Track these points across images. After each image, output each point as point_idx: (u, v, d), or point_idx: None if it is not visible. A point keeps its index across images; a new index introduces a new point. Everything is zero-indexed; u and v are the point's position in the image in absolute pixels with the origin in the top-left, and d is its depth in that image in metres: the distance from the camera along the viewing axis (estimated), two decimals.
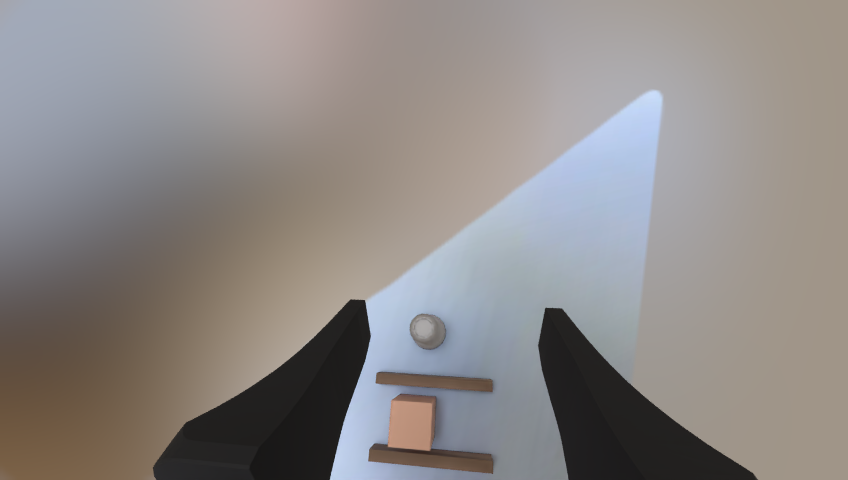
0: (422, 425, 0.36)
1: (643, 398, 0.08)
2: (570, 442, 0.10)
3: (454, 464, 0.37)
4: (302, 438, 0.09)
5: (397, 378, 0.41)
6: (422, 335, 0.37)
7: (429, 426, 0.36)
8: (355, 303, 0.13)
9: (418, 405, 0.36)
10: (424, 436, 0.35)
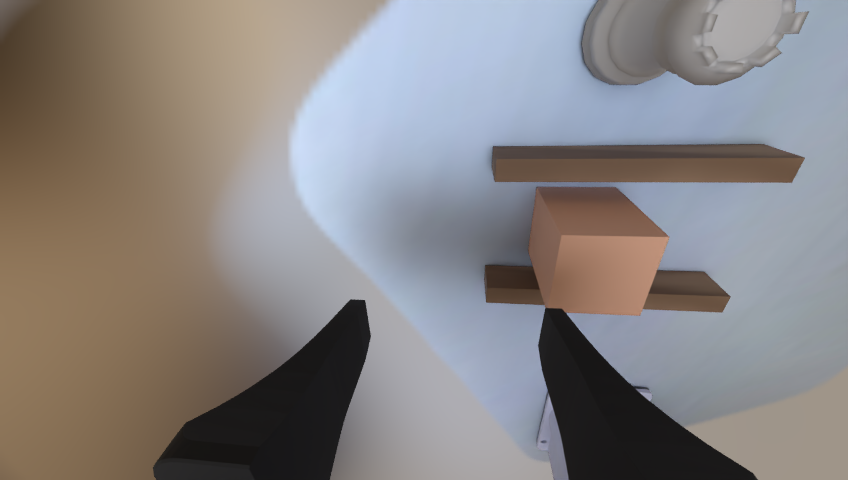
0: (632, 278, 0.16)
1: (643, 398, 0.08)
2: (570, 442, 0.10)
3: (649, 302, 0.20)
4: (302, 438, 0.09)
5: (550, 167, 0.17)
6: (728, 56, 0.10)
7: (649, 279, 0.16)
8: (355, 303, 0.13)
9: (632, 242, 0.15)
10: (633, 294, 0.16)
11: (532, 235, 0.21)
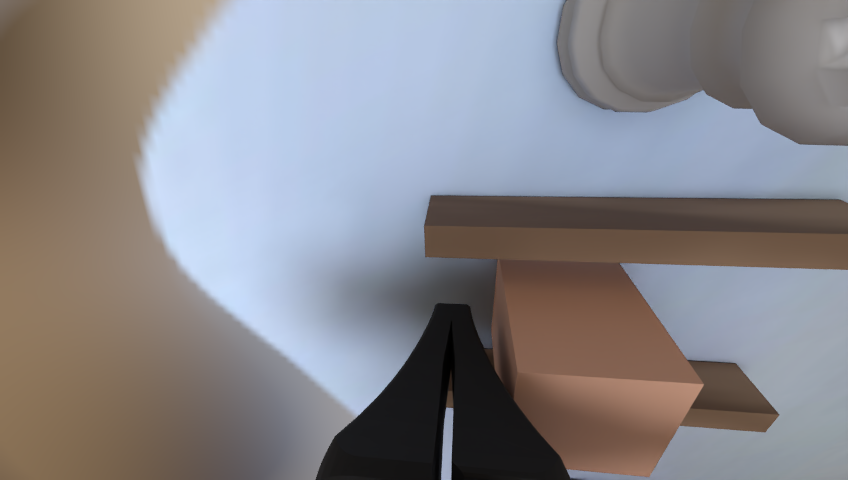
0: (637, 433, 0.10)
1: (501, 388, 0.09)
2: None
3: None
4: (438, 451, 0.08)
5: (508, 239, 0.11)
6: None
7: (666, 435, 0.09)
8: (445, 308, 0.13)
9: (638, 388, 0.09)
10: (638, 452, 0.10)
11: (494, 316, 0.15)
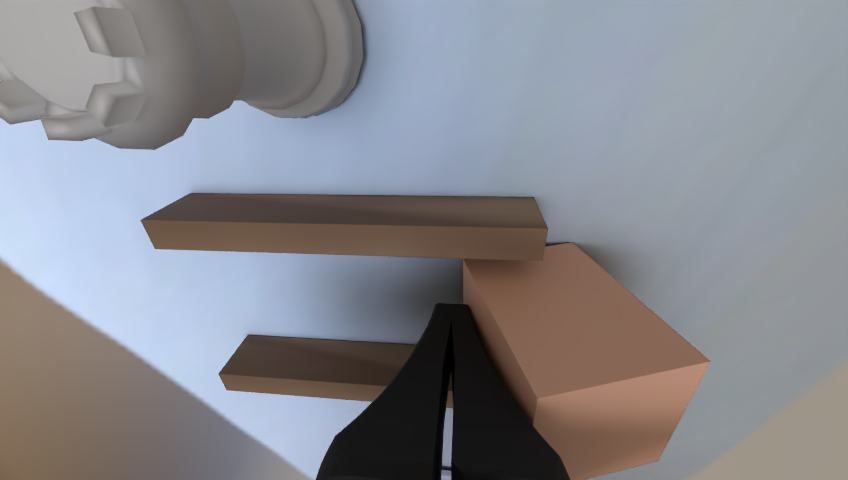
0: (650, 424, 0.09)
1: (501, 388, 0.09)
2: None
3: None
4: (438, 451, 0.08)
5: (215, 232, 0.12)
6: (74, 102, 0.05)
7: (675, 418, 0.09)
8: (445, 307, 0.13)
9: (654, 381, 0.08)
10: (650, 442, 0.10)
11: None
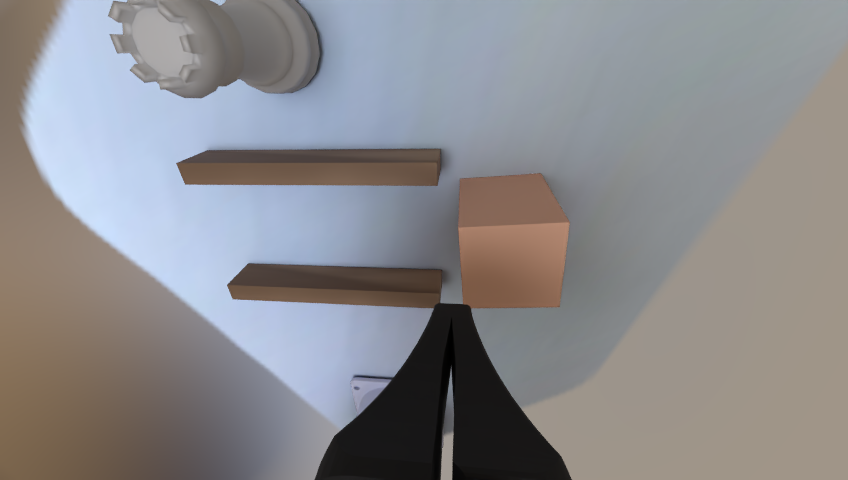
0: (541, 268, 0.15)
1: (502, 388, 0.09)
2: None
3: (373, 299, 0.21)
4: (437, 450, 0.08)
5: (225, 171, 0.18)
6: (170, 73, 0.11)
7: (560, 268, 0.15)
8: (445, 307, 0.13)
9: (532, 230, 0.14)
10: (547, 285, 0.15)
11: None
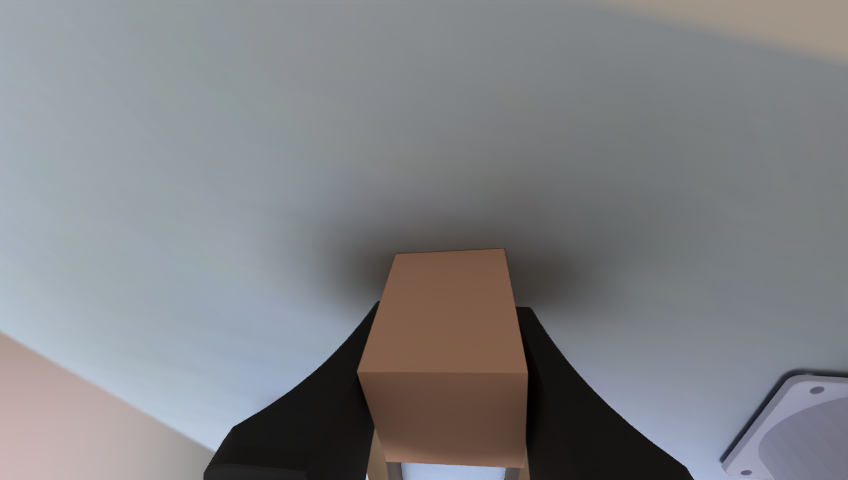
0: (442, 395, 0.09)
1: (595, 395, 0.09)
2: (530, 439, 0.10)
3: None
4: (345, 442, 0.09)
5: None
6: None
7: (439, 376, 0.09)
8: None
9: (378, 405, 0.10)
10: (477, 389, 0.09)
11: None
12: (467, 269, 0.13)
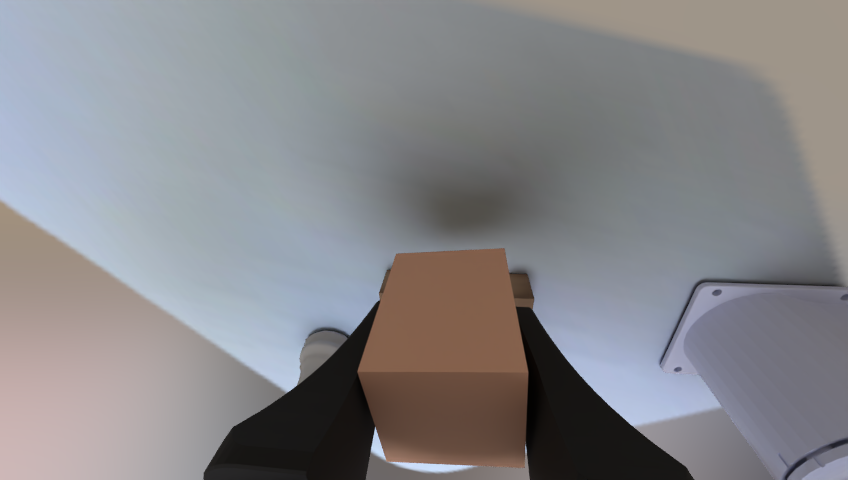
0: (442, 395, 0.09)
1: (595, 395, 0.09)
2: (530, 439, 0.10)
3: None
4: (345, 442, 0.09)
5: None
6: None
7: (439, 376, 0.09)
8: None
9: (378, 405, 0.10)
10: (477, 388, 0.09)
11: None
12: (467, 269, 0.13)
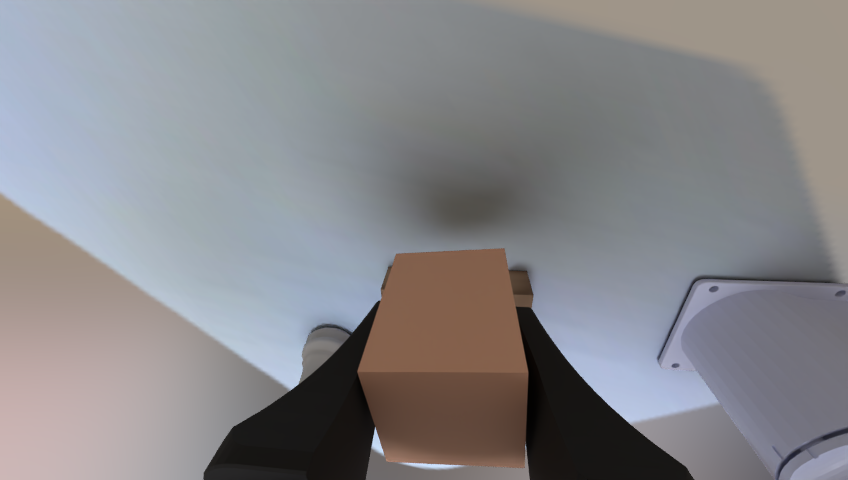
0: (442, 395, 0.09)
1: (595, 395, 0.09)
2: (530, 439, 0.10)
3: None
4: (345, 442, 0.09)
5: None
6: None
7: (439, 376, 0.09)
8: None
9: (379, 405, 0.10)
10: (477, 388, 0.09)
11: None
12: (467, 269, 0.13)
